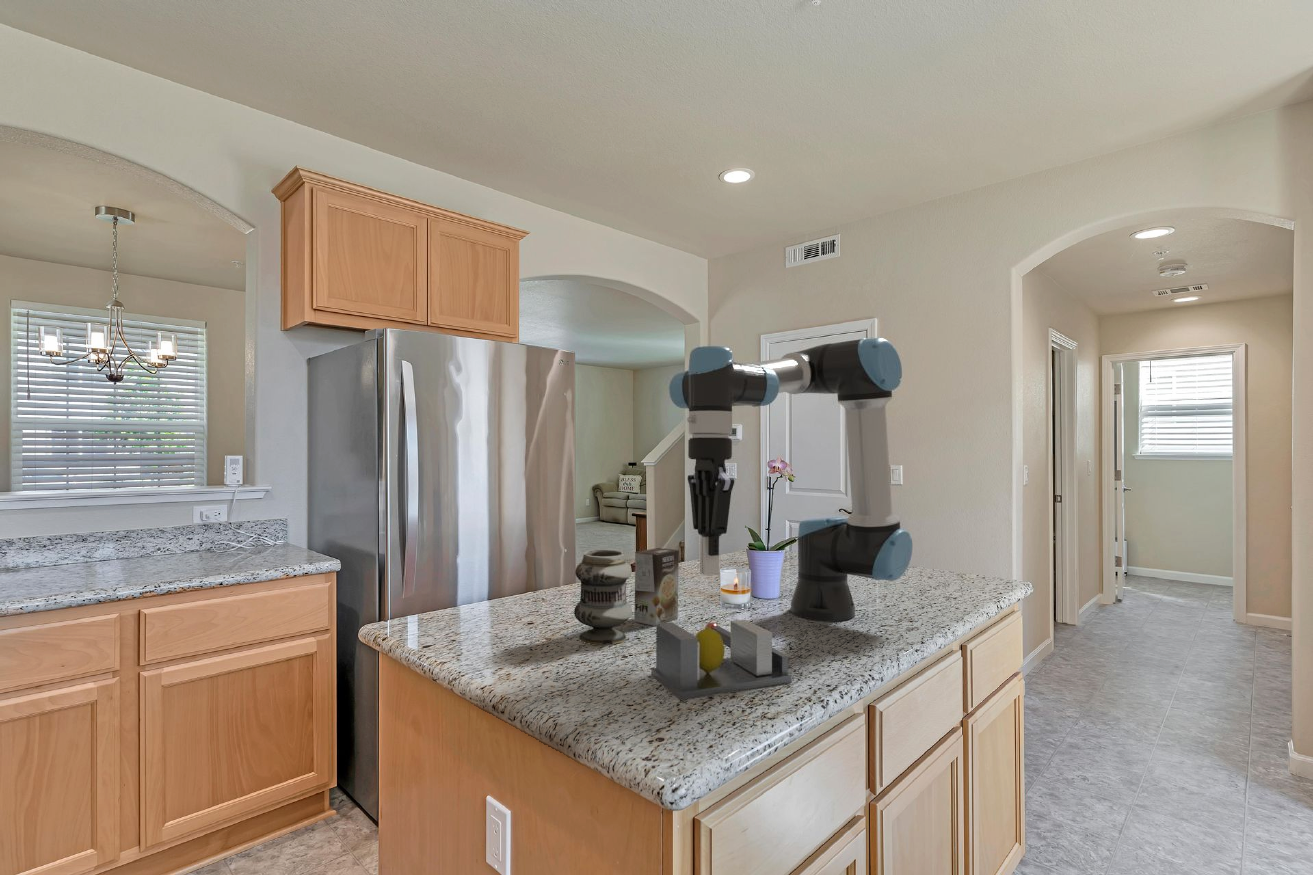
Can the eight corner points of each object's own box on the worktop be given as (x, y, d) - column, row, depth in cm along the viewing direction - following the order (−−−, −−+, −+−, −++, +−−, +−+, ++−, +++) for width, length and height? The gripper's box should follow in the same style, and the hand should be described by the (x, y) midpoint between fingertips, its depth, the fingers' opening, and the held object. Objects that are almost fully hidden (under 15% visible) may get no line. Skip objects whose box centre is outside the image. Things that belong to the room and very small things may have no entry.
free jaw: (715, 640, 129) (715, 605, 130) (771, 673, 111) (772, 632, 111) (702, 641, 128) (702, 606, 128) (756, 675, 109) (757, 634, 110)
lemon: (706, 665, 115) (706, 620, 115) (730, 673, 111) (731, 627, 111) (685, 673, 111) (685, 626, 111) (709, 681, 107) (709, 633, 107)
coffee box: (656, 626, 144) (656, 554, 144) (633, 622, 148) (634, 551, 148) (679, 618, 151) (679, 549, 152) (656, 613, 155) (657, 546, 155)
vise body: (754, 660, 121) (754, 611, 122) (791, 682, 110) (791, 628, 111) (651, 675, 113) (651, 622, 113) (680, 700, 102) (680, 641, 102)
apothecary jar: (583, 650, 127) (584, 558, 127) (567, 633, 138) (567, 549, 138) (640, 643, 132) (641, 554, 132) (620, 627, 143) (620, 546, 143)
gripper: (674, 436, 116) (673, 568, 116) (708, 435, 104) (707, 582, 104) (711, 437, 119) (710, 565, 119) (749, 436, 107) (748, 579, 106)
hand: (709, 573), depth 111 cm, fingers closed
